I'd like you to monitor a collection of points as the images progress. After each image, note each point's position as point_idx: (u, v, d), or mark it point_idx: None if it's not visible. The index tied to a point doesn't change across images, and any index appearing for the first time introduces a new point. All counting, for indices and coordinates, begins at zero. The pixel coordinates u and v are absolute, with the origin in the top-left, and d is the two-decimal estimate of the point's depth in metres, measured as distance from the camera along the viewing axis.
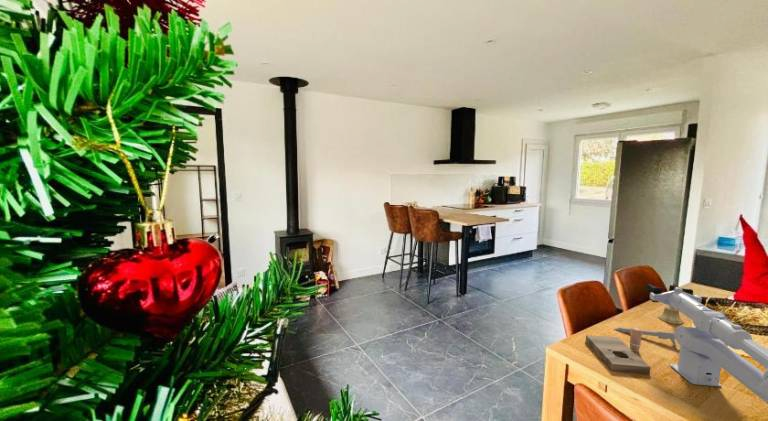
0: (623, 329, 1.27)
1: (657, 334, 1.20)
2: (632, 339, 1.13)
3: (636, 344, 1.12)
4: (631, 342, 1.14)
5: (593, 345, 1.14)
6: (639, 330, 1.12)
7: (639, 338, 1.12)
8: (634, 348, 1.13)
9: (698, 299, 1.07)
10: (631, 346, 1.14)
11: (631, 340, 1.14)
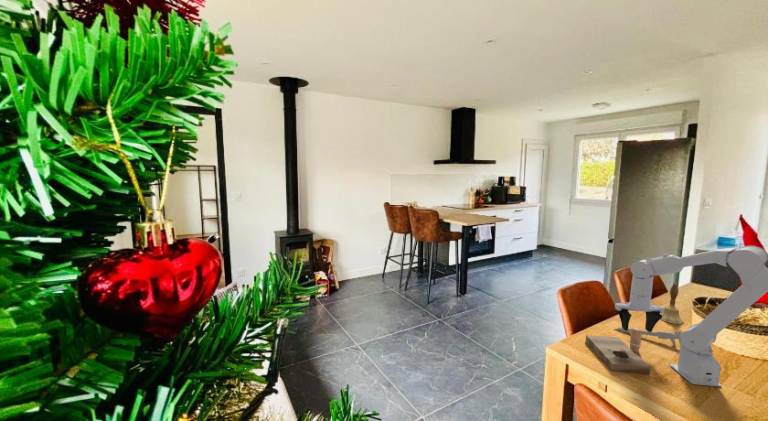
0: (623, 329, 1.27)
1: (657, 334, 1.20)
2: (632, 339, 1.13)
3: (636, 344, 1.12)
4: (631, 342, 1.14)
5: (593, 345, 1.14)
6: (639, 330, 1.12)
7: (639, 338, 1.12)
8: (634, 348, 1.13)
9: None
10: (631, 346, 1.14)
11: (631, 340, 1.14)
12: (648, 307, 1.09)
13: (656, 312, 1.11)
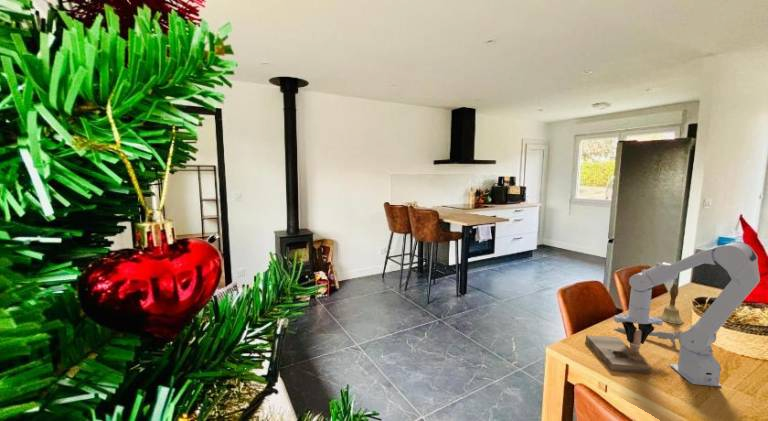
0: (623, 329, 1.27)
1: (657, 334, 1.20)
2: None
3: (636, 344, 1.12)
4: None
5: (593, 345, 1.14)
6: (639, 330, 1.12)
7: (639, 338, 1.12)
8: (634, 348, 1.13)
9: None
10: (631, 346, 1.14)
11: None
12: (647, 320, 1.10)
13: None
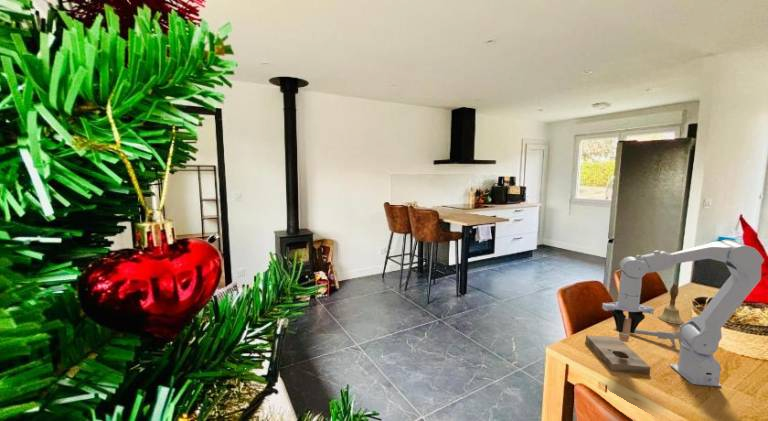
0: None
1: (657, 334, 1.20)
2: None
3: (625, 333, 1.06)
4: None
5: (593, 345, 1.14)
6: (629, 318, 1.06)
7: (628, 327, 1.06)
8: (622, 337, 1.07)
9: None
10: (620, 335, 1.08)
11: None
12: (637, 307, 1.03)
13: None
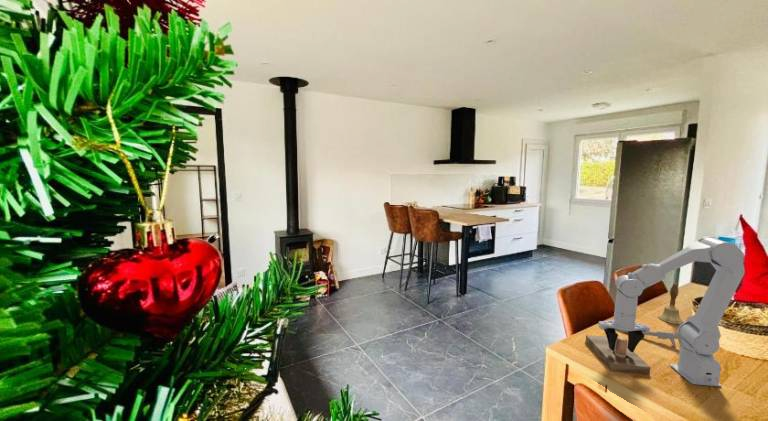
0: None
1: (656, 334, 1.20)
2: (617, 349, 1.07)
3: (621, 354, 1.06)
4: (616, 352, 1.07)
5: (593, 345, 1.14)
6: (624, 340, 1.06)
7: (624, 348, 1.06)
8: None
9: None
10: None
11: (616, 350, 1.07)
12: (633, 326, 1.03)
13: (641, 331, 1.05)
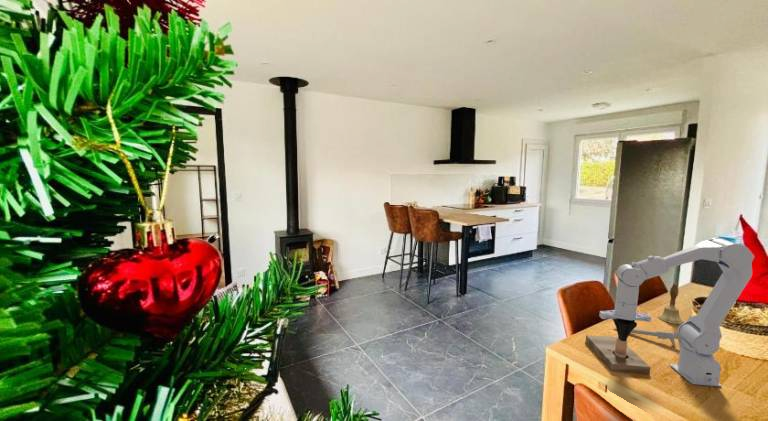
0: None
1: (656, 334, 1.20)
2: (617, 349, 1.07)
3: (621, 355, 1.06)
4: (616, 352, 1.07)
5: (593, 345, 1.14)
6: None
7: (624, 348, 1.06)
8: None
9: None
10: None
11: (616, 350, 1.07)
12: (634, 315, 1.03)
13: None
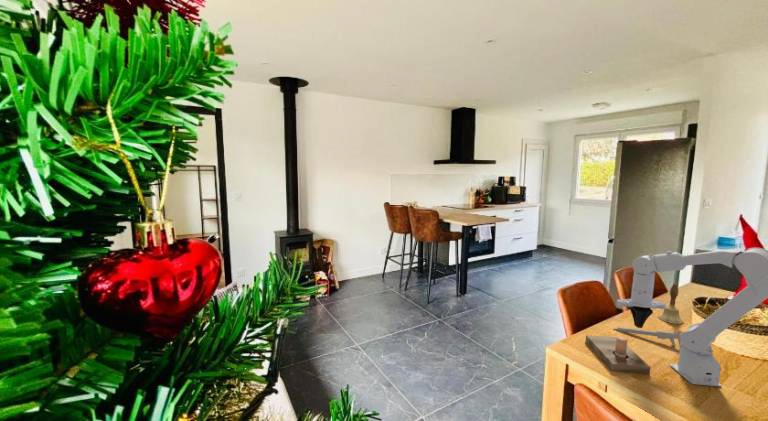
0: (622, 329, 1.27)
1: (656, 334, 1.20)
2: (617, 349, 1.07)
3: (621, 354, 1.06)
4: (616, 352, 1.07)
5: (593, 345, 1.14)
6: (624, 340, 1.06)
7: (624, 348, 1.06)
8: None
9: None
10: None
11: (616, 350, 1.07)
12: (650, 303, 1.08)
13: None
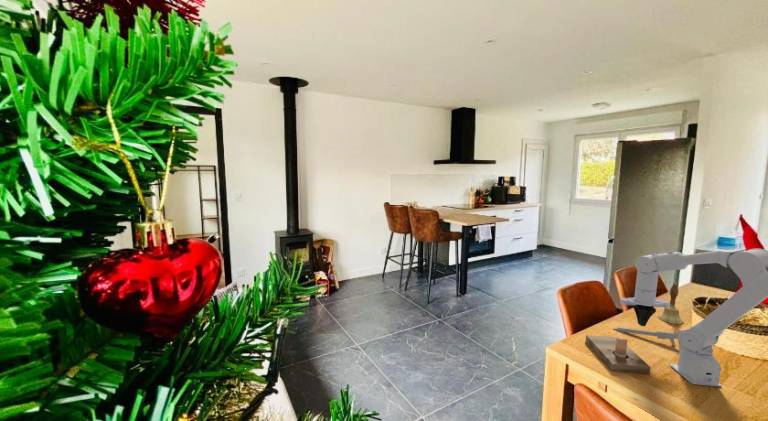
0: (622, 329, 1.27)
1: (656, 334, 1.20)
2: (617, 349, 1.07)
3: (621, 354, 1.06)
4: (616, 352, 1.07)
5: (593, 345, 1.14)
6: (624, 340, 1.06)
7: (624, 348, 1.06)
8: None
9: None
10: None
11: (616, 350, 1.07)
12: (653, 302, 1.10)
13: None
